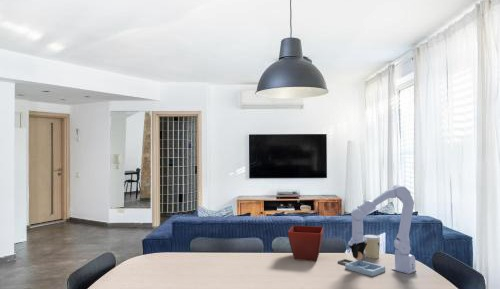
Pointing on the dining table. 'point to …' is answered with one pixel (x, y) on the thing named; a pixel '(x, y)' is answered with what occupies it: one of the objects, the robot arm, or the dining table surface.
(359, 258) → the ball
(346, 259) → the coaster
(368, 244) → the coffee cup
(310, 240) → the plant pot
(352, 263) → the tray
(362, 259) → the shaker
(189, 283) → the dining table surface
